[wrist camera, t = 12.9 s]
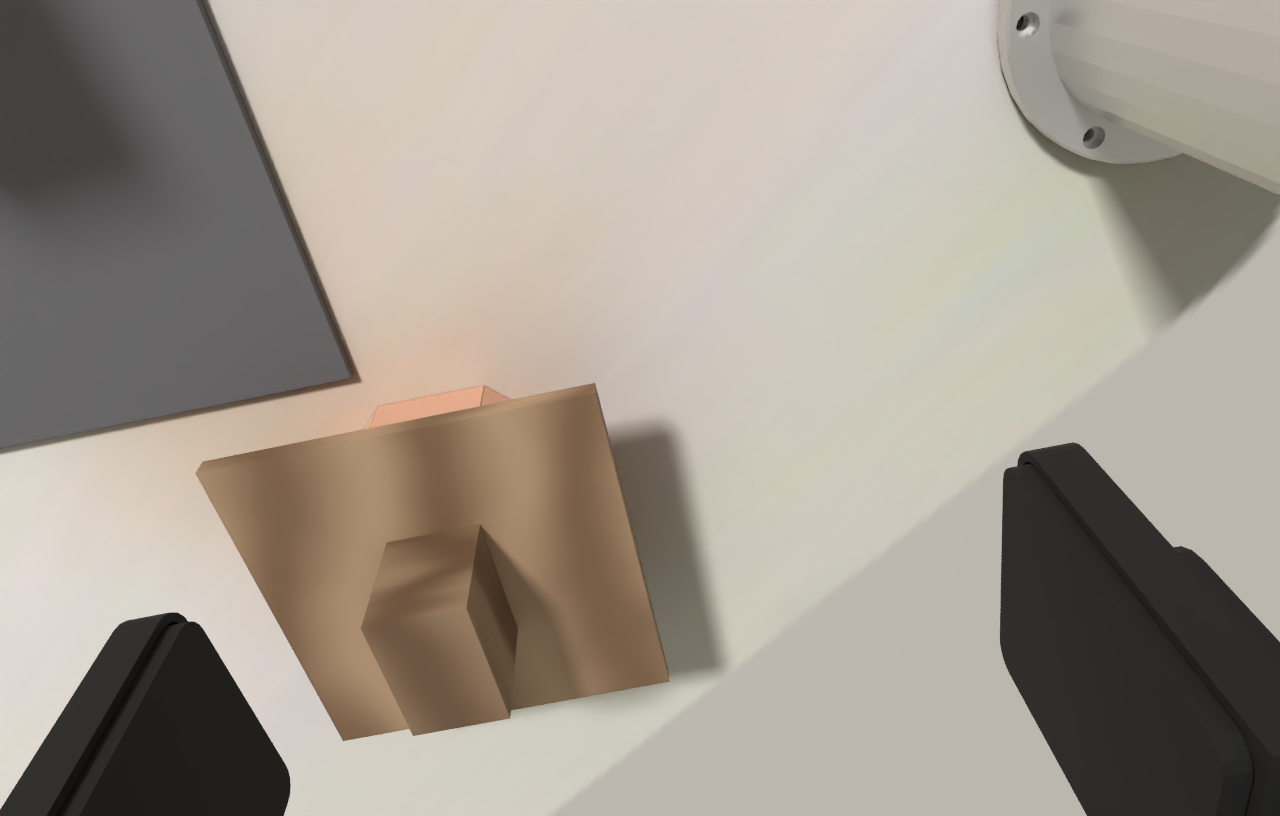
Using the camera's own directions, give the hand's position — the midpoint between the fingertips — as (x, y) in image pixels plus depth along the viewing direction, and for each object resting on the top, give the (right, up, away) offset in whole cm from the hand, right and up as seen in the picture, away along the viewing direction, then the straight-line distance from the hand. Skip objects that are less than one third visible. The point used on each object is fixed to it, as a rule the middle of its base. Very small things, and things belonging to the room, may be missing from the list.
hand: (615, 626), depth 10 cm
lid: (-8, -5, +29) cm, 30 cm away
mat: (-24, +11, +25) cm, 36 cm away
